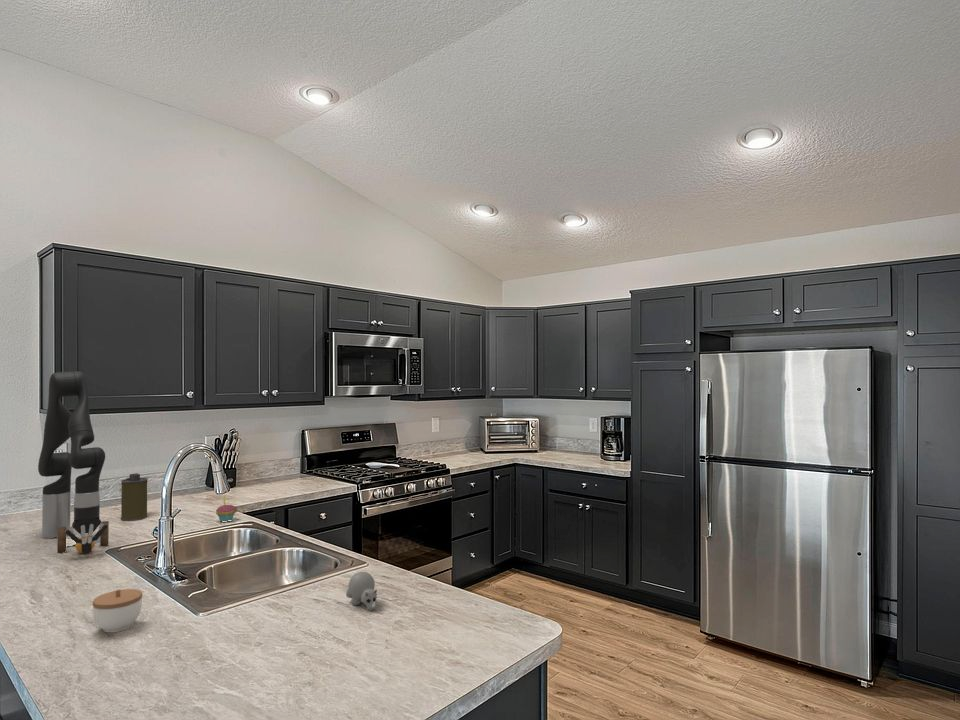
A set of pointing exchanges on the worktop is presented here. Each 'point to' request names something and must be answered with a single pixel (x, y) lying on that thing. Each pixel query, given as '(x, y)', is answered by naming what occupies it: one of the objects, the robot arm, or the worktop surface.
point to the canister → (134, 498)
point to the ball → (79, 545)
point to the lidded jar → (117, 609)
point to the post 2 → (104, 535)
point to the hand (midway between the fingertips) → (86, 553)
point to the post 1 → (61, 540)
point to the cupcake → (226, 511)
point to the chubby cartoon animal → (362, 590)
